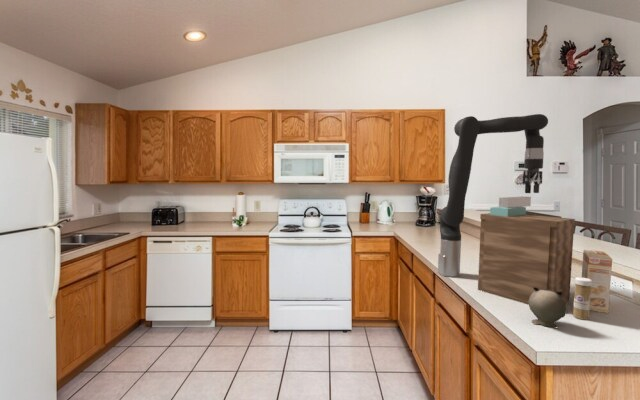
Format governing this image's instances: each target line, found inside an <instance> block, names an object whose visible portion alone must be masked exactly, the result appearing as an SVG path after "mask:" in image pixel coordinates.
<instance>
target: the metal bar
mask: <svg viewBox="0 0 640 400" xmlns="http://www.w3.org/2000/svg"><path fill="white" fill-rule="evenodd" d="M531 199H532V196H506V197H505V196H504V197H499V198H498V207H499V208H515V207H526V208H527V207H531V205H532V204H531Z"/></svg>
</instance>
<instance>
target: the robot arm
mask: <svg viewBox="0 0 640 400" xmlns="http://www.w3.org/2000/svg"><path fill="white" fill-rule="evenodd" d="M548 124H549V119H548V117H547V116H546V115H544V114H541V113H536V114H527V115H524V116H523V115H522V116H507V117H499V118H498V117H497V118H494V119H486V120H478V118H476V117H475V116H466V117H463V118H460V119H459V120H458V121H457V122H456V123H455V124H454V129H453V130H454V133H455V134H456V136H458V145H457V148H456V151H455V152H454V155H453V158H452V160H451V163H450V166H449V170H448V171H449V172H448V179H447V180H448V200H447V202H446V203H447V205H446V206H445V207H443V208H442V210H441V211H440V215H439V217H440V219H439V232H440V248H439V249H440V253H438V258H437V259H438V260H437V266H438V267H437V273H438V274H440V275H441V276H443V277H453V278H454V277H456V278H457V277H460V275H461V253H462V252H461V251H462V234H461V226H460V225H461V224H462V222H463V221H464V217H465V205H466V203H465V202H466V195H467V190H468V186H469V182H470V176H471V173H472V172H471V170H472V164H473V157H474V151H475V146H476V142H477V139H478V135H484V134H500V133H502V134H503V133H505V134H506V133H517V132H524V135H525V136H524V137H525V140H526V141H525V150H524V162H523V163H524V166H523V168H524V169H526V170H523V176H522V184H523V185H524V193H525V194H531V192H533V193H534V194H539V193H540V186H541V184H543V170H542V169H543V168H544V142H545V141H544V136H542V135H541V133H540V131H541V130H543V129H545V128H546V127H547V125H548ZM540 169H541V170H540ZM532 183H533V191H532Z"/></svg>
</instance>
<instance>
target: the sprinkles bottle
mask: <svg viewBox="0 0 640 400" xmlns="http://www.w3.org/2000/svg"><path fill="white" fill-rule="evenodd" d="M574 285H575V287H574V297H573V313H572V316H573V317H574V318H576V319H579V320H585V321H586V320H590V311H591V310H590V297H591V286H592V280H591V279H588V278H583V277H582V276H579V277H578V276H577V277H576V276H575V279H574Z"/></svg>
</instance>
